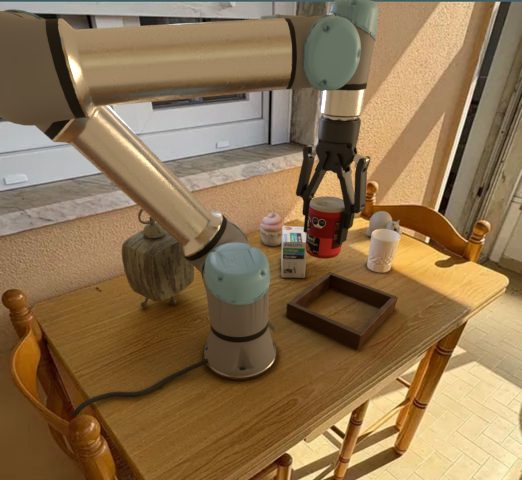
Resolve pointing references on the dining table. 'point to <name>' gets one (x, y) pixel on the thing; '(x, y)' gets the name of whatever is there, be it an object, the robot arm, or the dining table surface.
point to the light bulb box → (293, 252)
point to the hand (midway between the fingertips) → (324, 235)
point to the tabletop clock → (155, 263)
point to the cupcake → (271, 229)
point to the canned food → (324, 227)
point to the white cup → (382, 249)
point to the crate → (335, 328)
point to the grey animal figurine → (382, 223)
